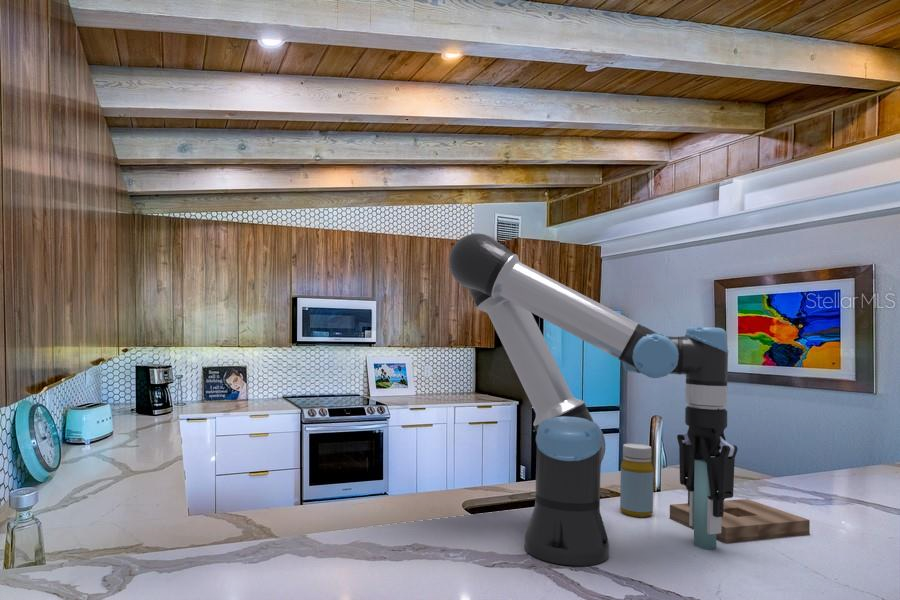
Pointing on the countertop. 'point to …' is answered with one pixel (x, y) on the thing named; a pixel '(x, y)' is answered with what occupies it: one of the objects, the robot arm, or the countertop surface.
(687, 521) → the bore block
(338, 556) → the countertop surface
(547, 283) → the robot arm
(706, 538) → the pin
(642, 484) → the bottle
